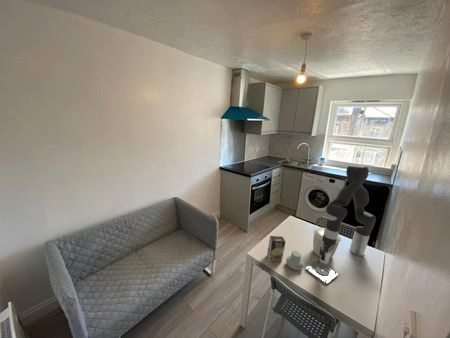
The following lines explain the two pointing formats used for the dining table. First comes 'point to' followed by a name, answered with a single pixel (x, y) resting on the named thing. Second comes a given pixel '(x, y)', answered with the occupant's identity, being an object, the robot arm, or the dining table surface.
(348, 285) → the dining table surface
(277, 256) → the coffee box
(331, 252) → the duct stub
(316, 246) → the canister
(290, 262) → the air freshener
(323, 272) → the duct flange
